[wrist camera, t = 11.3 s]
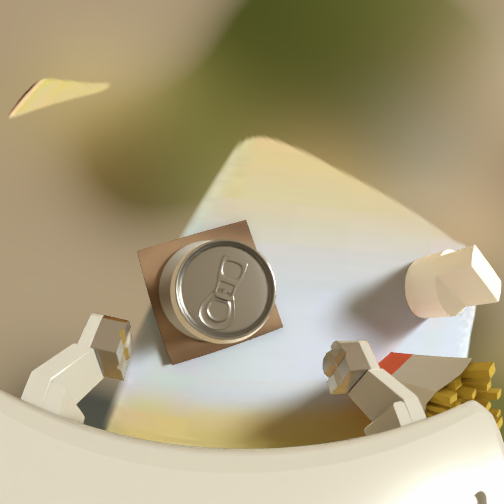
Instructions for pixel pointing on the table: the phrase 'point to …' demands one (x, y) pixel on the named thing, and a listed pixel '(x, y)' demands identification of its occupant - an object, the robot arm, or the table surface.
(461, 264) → the base with upright slab
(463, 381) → the french fries container
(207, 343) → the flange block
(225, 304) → the can
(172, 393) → the table surface
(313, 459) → the robot arm
